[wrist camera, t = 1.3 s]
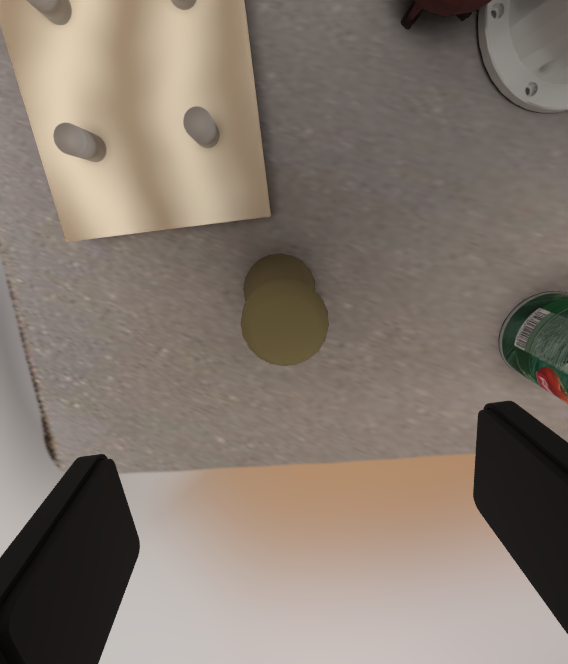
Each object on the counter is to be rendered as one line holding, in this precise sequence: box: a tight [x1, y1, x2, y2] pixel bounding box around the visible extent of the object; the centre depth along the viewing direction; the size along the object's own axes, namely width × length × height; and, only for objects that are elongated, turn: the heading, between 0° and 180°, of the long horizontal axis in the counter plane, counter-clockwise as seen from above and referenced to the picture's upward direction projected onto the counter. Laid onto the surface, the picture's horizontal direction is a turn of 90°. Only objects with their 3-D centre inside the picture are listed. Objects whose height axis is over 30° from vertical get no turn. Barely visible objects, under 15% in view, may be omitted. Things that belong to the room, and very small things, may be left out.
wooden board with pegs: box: [0, 0, 271, 242], centre depth 22 cm, size 14×18×7 cm
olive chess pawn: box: [241, 254, 329, 366], centre depth 25 cm, size 6×6×11 cm
